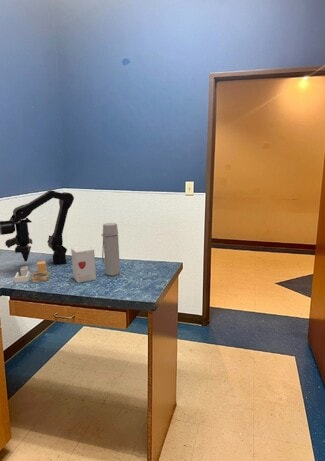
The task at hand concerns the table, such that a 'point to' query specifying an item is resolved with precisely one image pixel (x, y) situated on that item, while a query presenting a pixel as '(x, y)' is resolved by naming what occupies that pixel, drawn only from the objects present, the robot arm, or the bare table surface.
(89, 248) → the supplement box
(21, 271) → the block
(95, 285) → the table surface
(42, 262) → the orange block
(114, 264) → the water bottle
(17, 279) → the clip
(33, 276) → the holder
